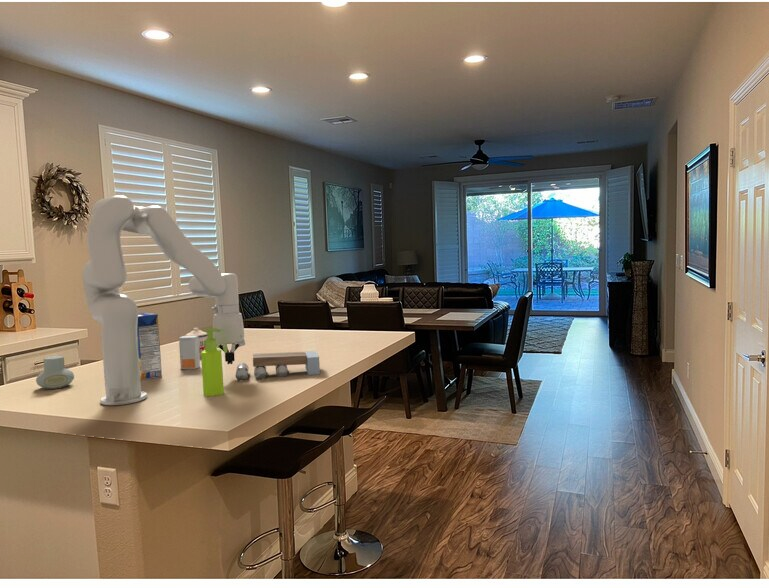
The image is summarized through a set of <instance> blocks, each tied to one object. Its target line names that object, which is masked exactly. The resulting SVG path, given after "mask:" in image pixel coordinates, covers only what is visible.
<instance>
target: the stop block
mask: <svg viewBox="0 0 769 588" xmlns="http://www.w3.org/2000/svg"><path fill="white" fill-rule="evenodd" d="M304 352H305V353H306V355H307V364H304V366H305V367H304V368H305V371H306V373H307V376H313V375H315V374H316V375H321V371H320V370H321V369H320V368H321V365H320V364H321V363H320V356H319V355H318V352H317V351H316V350H311V351H304Z"/></svg>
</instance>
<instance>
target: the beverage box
mask: <svg viewBox="0 0 769 588" xmlns="http://www.w3.org/2000/svg"><path fill="white" fill-rule="evenodd" d="M137 341H138V354H139V368H140V380H141V379H144V380H147V379H148V378H149V379H154V378H160V377H163V373H162V359H161V346H160V345H161V343H160V341H161V340H160V328H159V315H158V313H150V312H138V323H137ZM149 379H148V380H149Z"/></svg>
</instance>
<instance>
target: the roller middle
mask: <svg viewBox="0 0 769 588" xmlns="http://www.w3.org/2000/svg"><path fill="white" fill-rule="evenodd" d="M253 368H254V372H253V375H254V377H255V379H257V380H263V379H262V378H264V379H265V378H266V377H267V366H255V367H253Z"/></svg>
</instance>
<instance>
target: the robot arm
mask: <svg viewBox="0 0 769 588" xmlns="http://www.w3.org/2000/svg"><path fill="white" fill-rule="evenodd" d="M91 212H92V213H91V214H92V217H91V219H90V221H89V223H88V226H87V231H86V239H87V245H88V246H87V247H88V254H89V260H88V261H87V262H86V263H85V265H84V266H83V269H82V272H81V273H82V274H81V276H82V277H81V279H82V285H83V288H84V290H83V291H84V294H85V299H86V302H87V308H88V311H89V314H90V315H91V317H92V318H93V319H94V321H96V322H98V323H100V324H102V328H101V329H102V330H101V350H102V364H103V374H104V376H103V377H104V386H105V387H104V388H105V396H102V397H101V398H100V401H99V402H100V404H101V405H104V406H121V405H128V404H135V403H137V402H141V401H143V400H145V399H146V398H148V393H147V392H146V391H144V390H142V385H141V379H140V368H139V354H138V341H137V323H138V313H139V309H138V305H137V304H136V302H135V300H134V299H133V298H132V297H130V296H129V295H127V294H123V293H120V288H121V287H123V285H125V283H126V281H127V279H128V275H127V274H128V273H127V269H126V265H125V259H124V254H123V249H122V243H121V242H122V241H121V235H122V234H121V233H122V232H127V233H133V234H140V235H141V234H142V235H149V237H150V238H151V239H152V240H153V241H154V242H155V244H156V246H158V248H159V249H160V250H161V252H162V253H163V255H164V256H165V257H166V258H167V259H168V260H170V261H171V262H173V263H174V264H177V265H178V266H180V267H182V268H184V269H185V270H187V271H188V272H189V273H190V274H192V277H191V278H190V279H189V283H188V289H189V291H190V293H192V294H193V295H195V296H196V297H201V298H202V297H204V298H205V297H206V298H215V300H214V301H215V305H214V306H212V307H211V308H210V309H211V312H214V313H215V314H213V318H212V328H217V329H220V330H221V331H220V332H213V338H215V339H216V344H217V349H219V350H221V351H223V353H224V361H225V363H227V365H233V363H234V362H235V352H236V351H237V349H238V348H240V347H243V346H245V345H246V340H245V327H244V321H243V320H244V319H243V316H242V315H243V314H242V313H241V312H240V303H239V301H240V300H239V280H238V276H237V274H236V273H232V272H231V273H229V272H228V273H222V272H220V270H219V269H218V267H217V266H216V265H215V264H214V263H213V261H212V260H211V259H210V258H209V257H208V256H207V255H206V254H204V253H203V252H202V251H201V250H200V249H199V248H198V247H196V246H195V245H194V244H193V243H192V242H191V241H190V240H189V239H188V238H187V236H186V235H185V233H184V232H183V230H182V229H181V228H180V227H179V225H178V224H177V222H176V221H175V219H174V218H173V217H172V215H171V214H170V213H169V212H168V211H167V210H166V208H164V207H162V206H160V205H150V206H139V205H138V206H137V205H134V203H133V201H132V200H131V199H130V198H129V197H127V196H125V195H119V194H118V195H117V194H116V195H113V196H112V195H111V196H109V197H105V198H101V199H99V200H97V201H96V202H95V203H94V205H93V207H92V210H91ZM228 345H231V349H230V350H229V349H228V347H229V346H228Z"/></svg>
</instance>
